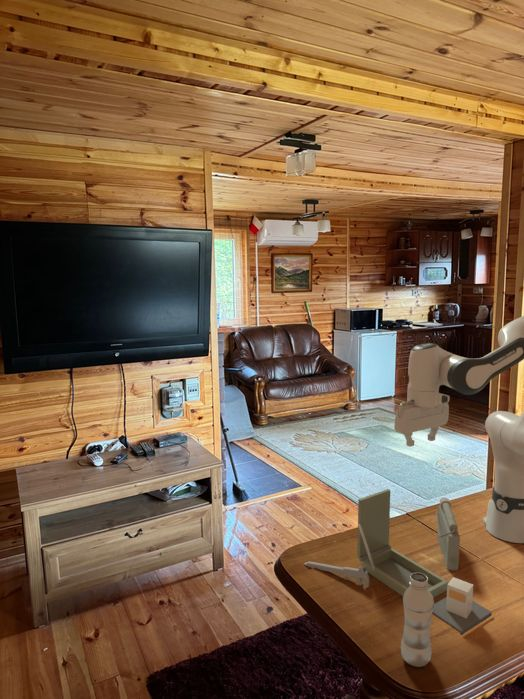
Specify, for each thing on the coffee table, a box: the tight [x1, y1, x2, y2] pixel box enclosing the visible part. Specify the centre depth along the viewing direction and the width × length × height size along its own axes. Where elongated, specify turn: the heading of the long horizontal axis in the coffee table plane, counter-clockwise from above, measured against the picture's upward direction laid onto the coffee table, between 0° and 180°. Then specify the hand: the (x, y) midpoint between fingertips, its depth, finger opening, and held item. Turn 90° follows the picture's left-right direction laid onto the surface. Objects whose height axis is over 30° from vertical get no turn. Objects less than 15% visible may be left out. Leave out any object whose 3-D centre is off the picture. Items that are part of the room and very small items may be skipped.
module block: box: [446, 576, 474, 619], centre depth 124 cm, size 4×5×7 cm
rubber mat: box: [432, 596, 493, 636], centre depth 125 cm, size 12×10×1 cm
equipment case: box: [356, 488, 449, 599], centre depth 137 cm, size 13×22×21 cm, turn 33°
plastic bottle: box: [400, 573, 435, 668], centre depth 109 cm, size 6×7×20 cm
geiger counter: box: [435, 497, 461, 572], centre depth 153 cm, size 14×6×25 cm
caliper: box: [303, 561, 370, 589], centre depth 140 cm, size 20×1×6 cm, turn 54°
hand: (420, 443), depth 149 cm, fingers open, 8 cm apart
